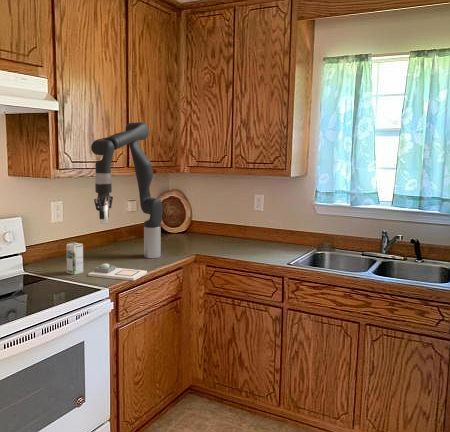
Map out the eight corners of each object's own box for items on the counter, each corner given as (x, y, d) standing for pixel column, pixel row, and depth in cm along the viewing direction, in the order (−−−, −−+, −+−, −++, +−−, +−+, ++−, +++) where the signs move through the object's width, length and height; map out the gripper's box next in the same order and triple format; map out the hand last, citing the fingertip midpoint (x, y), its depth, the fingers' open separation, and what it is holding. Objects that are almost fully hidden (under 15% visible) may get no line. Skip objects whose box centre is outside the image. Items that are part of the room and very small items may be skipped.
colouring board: (103, 268, 237) (103, 262, 237) (146, 273, 231) (146, 266, 230) (88, 276, 224) (88, 269, 223) (134, 280, 217) (133, 274, 217)
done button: (103, 269, 232) (103, 262, 231) (111, 269, 230) (110, 263, 230) (98, 271, 228) (98, 264, 227) (106, 272, 226) (106, 265, 226)
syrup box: (66, 273, 228) (65, 243, 226) (76, 270, 233) (75, 241, 231) (74, 275, 225) (73, 245, 223) (84, 272, 230) (83, 243, 228)
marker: (102, 222, 228) (102, 200, 226) (109, 222, 227) (109, 201, 225) (98, 223, 224) (98, 201, 223) (105, 223, 223) (105, 201, 222)
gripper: (104, 181, 230) (104, 216, 233) (88, 183, 217) (89, 220, 220) (117, 182, 228) (118, 216, 231) (102, 184, 215) (103, 221, 218)
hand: (104, 218), depth 225 cm, fingers closed on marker, 3 cm apart
